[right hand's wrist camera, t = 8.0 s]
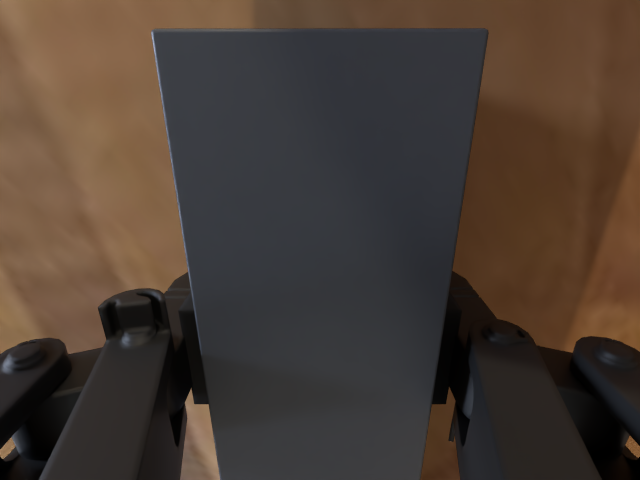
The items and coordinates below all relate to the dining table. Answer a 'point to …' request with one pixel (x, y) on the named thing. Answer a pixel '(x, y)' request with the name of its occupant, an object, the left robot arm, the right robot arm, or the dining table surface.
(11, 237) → the dining table surface
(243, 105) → the bar
